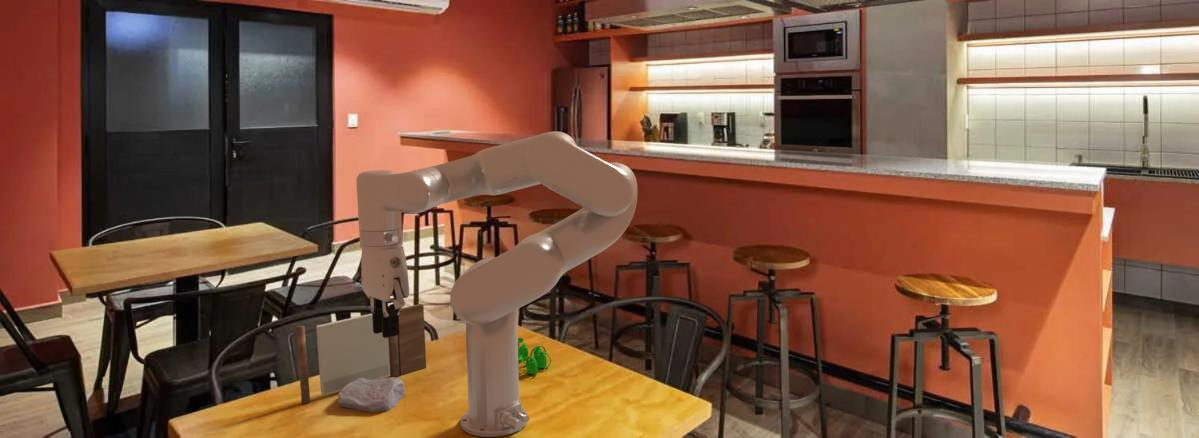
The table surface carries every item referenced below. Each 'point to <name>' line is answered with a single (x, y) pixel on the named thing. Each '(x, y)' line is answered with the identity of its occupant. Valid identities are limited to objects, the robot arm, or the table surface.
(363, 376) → the door
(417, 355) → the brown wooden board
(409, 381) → the table surface
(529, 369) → the chandelier
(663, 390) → the table surface
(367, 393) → the stone block
